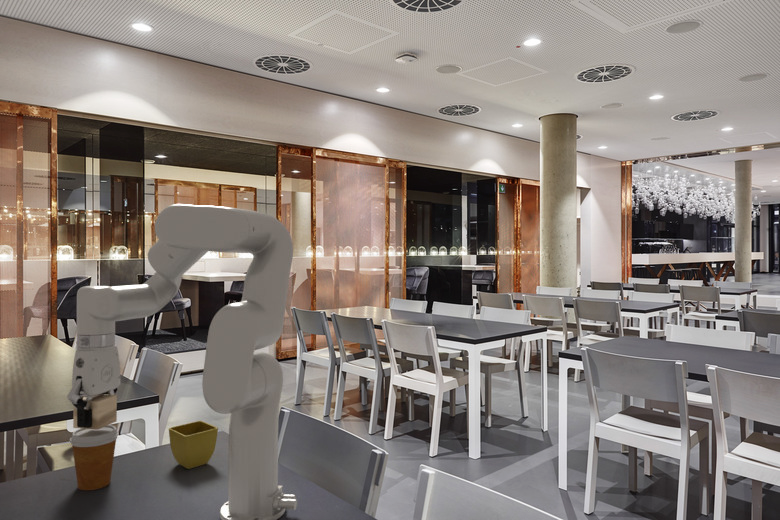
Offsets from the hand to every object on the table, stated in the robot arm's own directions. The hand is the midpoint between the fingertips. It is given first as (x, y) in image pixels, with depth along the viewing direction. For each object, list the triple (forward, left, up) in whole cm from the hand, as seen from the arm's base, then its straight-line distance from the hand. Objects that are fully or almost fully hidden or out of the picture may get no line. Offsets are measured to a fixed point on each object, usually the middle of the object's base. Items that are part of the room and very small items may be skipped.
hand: (95, 421), depth 119 cm
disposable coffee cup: (0, 0, -14) cm, 14 cm away
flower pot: (-15, -15, -14) cm, 26 cm away
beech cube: (0, 0, -1) cm, 1 cm away
